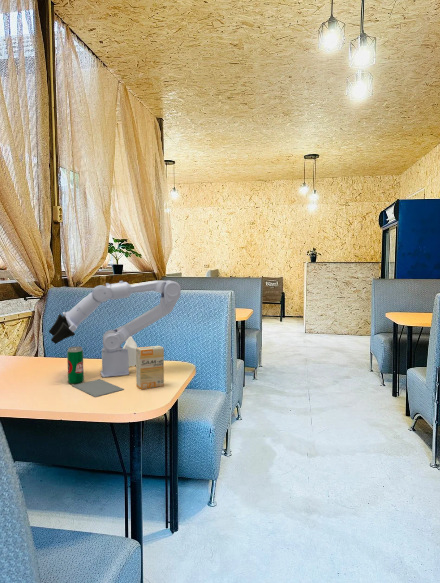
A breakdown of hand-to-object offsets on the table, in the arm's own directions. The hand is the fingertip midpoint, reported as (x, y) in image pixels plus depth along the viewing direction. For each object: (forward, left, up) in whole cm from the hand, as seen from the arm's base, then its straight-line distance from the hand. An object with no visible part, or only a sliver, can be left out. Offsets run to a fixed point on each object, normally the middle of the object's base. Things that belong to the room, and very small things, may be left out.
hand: (52, 337), depth 140 cm
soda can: (-7, +8, -15) cm, 18 cm away
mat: (-14, +17, -15) cm, 26 cm away
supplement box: (-30, +22, -15) cm, 40 cm away
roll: (-28, -8, -15) cm, 33 cm away
